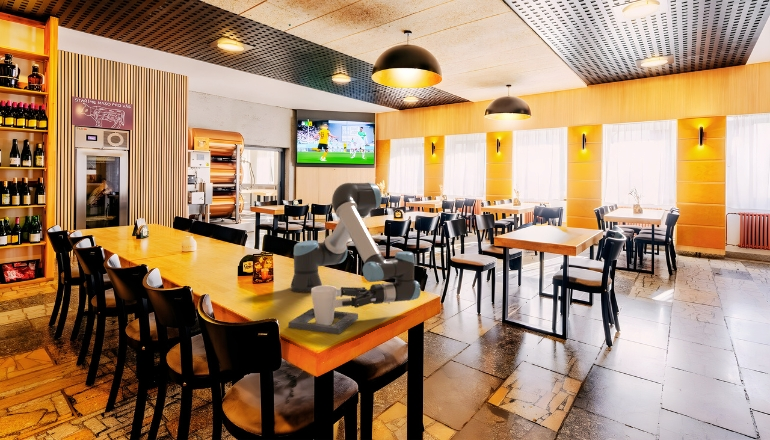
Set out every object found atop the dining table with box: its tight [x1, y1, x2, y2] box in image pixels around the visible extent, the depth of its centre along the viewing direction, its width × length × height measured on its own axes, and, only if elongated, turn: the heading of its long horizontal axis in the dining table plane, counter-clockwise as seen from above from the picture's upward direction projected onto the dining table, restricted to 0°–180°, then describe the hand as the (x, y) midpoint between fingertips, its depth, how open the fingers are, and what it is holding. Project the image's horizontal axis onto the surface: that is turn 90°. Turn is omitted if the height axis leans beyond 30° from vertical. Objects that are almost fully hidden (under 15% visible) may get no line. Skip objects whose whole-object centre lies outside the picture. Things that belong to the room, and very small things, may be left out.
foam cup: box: [310, 285, 338, 326], centre depth 148 cm, size 10×9×13 cm
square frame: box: [288, 307, 359, 335], centre depth 148 cm, size 20×17×2 cm
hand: (328, 298), depth 147 cm, fingers open, 13 cm apart
